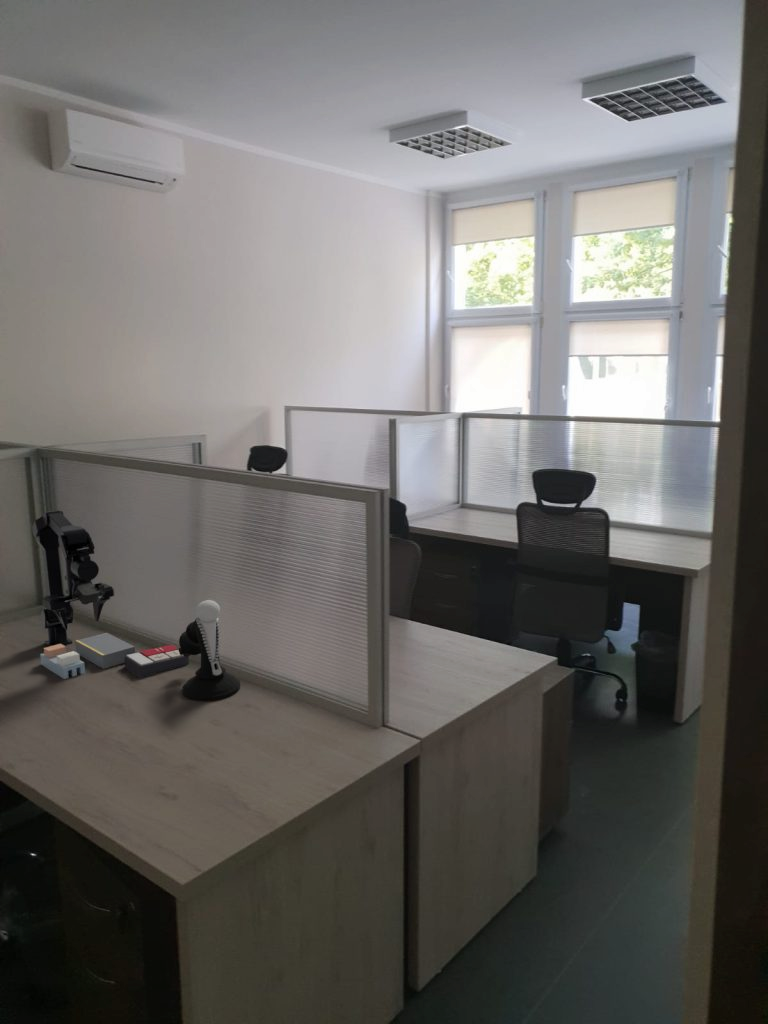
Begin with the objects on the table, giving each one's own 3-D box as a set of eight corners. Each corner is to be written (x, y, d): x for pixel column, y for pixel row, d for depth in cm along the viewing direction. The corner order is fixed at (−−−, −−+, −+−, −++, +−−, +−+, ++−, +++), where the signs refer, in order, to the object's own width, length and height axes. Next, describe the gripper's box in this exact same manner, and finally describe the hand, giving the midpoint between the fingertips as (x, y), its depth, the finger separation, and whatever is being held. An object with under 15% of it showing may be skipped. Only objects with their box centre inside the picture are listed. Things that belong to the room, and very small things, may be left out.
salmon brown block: (44, 655, 228) (43, 648, 228) (61, 650, 232) (60, 643, 231) (49, 658, 226) (48, 651, 225) (66, 653, 229) (65, 646, 229)
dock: (76, 653, 238) (75, 640, 237) (107, 644, 245) (106, 632, 244) (103, 668, 226) (102, 655, 225) (135, 659, 233) (134, 646, 232)
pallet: (41, 665, 230) (40, 654, 229) (61, 659, 234) (60, 648, 233) (64, 680, 219) (63, 668, 218) (85, 674, 223) (84, 662, 222)
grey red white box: (189, 653, 228) (140, 663, 218) (189, 667, 229) (140, 678, 219) (172, 643, 236) (123, 653, 226) (172, 657, 237) (124, 667, 227)
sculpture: (197, 706, 200) (191, 612, 195) (160, 678, 218) (154, 592, 214) (250, 690, 209) (246, 600, 205) (210, 664, 228) (205, 581, 223)
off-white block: (57, 663, 222) (56, 655, 222) (74, 658, 226) (73, 651, 225) (62, 666, 220) (61, 659, 219) (80, 661, 223) (79, 654, 223)
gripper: (57, 585, 210) (62, 640, 213) (121, 571, 223) (125, 623, 226) (39, 577, 217) (44, 630, 220) (102, 564, 230) (106, 614, 234)
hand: (81, 625), depth 225 cm, fingers open, 9 cm apart
